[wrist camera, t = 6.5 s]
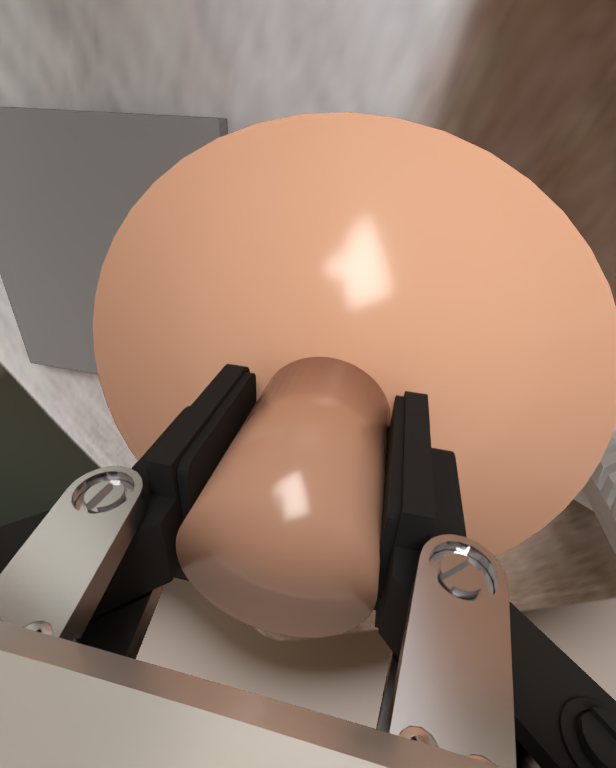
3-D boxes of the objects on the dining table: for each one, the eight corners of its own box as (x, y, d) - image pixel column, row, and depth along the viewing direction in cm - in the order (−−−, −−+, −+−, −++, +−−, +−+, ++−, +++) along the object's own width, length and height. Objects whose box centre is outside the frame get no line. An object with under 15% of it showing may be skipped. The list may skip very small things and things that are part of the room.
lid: (62, 103, 10) (-321, 55, 5) (737, 131, 7) (1439, 94, 2) (151, 514, 17) (39, 671, 12) (509, 592, 15) (561, 829, 9)
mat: (-41, 105, 23) (-59, 103, 22) (226, 118, 20) (218, 117, 20) (40, 357, 31) (30, 362, 30) (238, 389, 29) (233, 396, 28)
